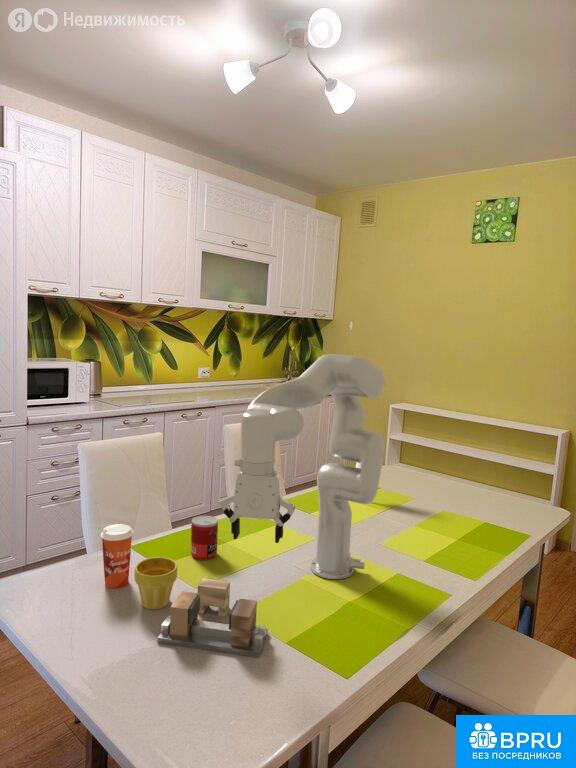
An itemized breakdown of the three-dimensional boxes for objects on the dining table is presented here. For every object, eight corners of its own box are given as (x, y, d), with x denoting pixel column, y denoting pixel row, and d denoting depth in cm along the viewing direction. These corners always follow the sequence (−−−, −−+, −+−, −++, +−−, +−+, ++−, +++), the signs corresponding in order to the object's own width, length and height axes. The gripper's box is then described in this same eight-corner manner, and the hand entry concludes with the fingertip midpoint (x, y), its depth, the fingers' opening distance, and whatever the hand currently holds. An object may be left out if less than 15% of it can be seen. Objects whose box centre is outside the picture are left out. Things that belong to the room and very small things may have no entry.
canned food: (212, 562, 157) (213, 526, 156) (186, 558, 159) (187, 523, 158) (220, 551, 165) (221, 517, 164) (196, 548, 166) (196, 514, 165)
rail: (267, 633, 123) (268, 600, 122) (259, 657, 114) (260, 621, 113) (172, 620, 127) (173, 587, 126) (157, 642, 118) (157, 607, 117)
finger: (255, 629, 122) (256, 600, 121) (248, 647, 115) (249, 617, 115) (236, 626, 123) (237, 598, 122) (227, 644, 116) (228, 614, 115)
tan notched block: (203, 603, 135) (203, 576, 134) (229, 606, 134) (230, 580, 133) (197, 612, 130) (197, 585, 129) (224, 616, 129) (225, 589, 128)
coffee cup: (103, 592, 138) (103, 537, 136) (98, 578, 145) (98, 525, 143) (136, 586, 141) (136, 532, 140) (130, 573, 149) (130, 521, 147)
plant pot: (178, 611, 131) (179, 573, 129) (134, 616, 128) (135, 577, 126) (175, 590, 140) (175, 554, 139) (134, 594, 137) (134, 558, 136)
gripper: (215, 469, 117) (215, 542, 119) (293, 474, 114) (292, 549, 117) (224, 459, 124) (224, 528, 127) (298, 464, 121) (296, 534, 124)
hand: (257, 538), depth 122 cm, fingers open, 9 cm apart
